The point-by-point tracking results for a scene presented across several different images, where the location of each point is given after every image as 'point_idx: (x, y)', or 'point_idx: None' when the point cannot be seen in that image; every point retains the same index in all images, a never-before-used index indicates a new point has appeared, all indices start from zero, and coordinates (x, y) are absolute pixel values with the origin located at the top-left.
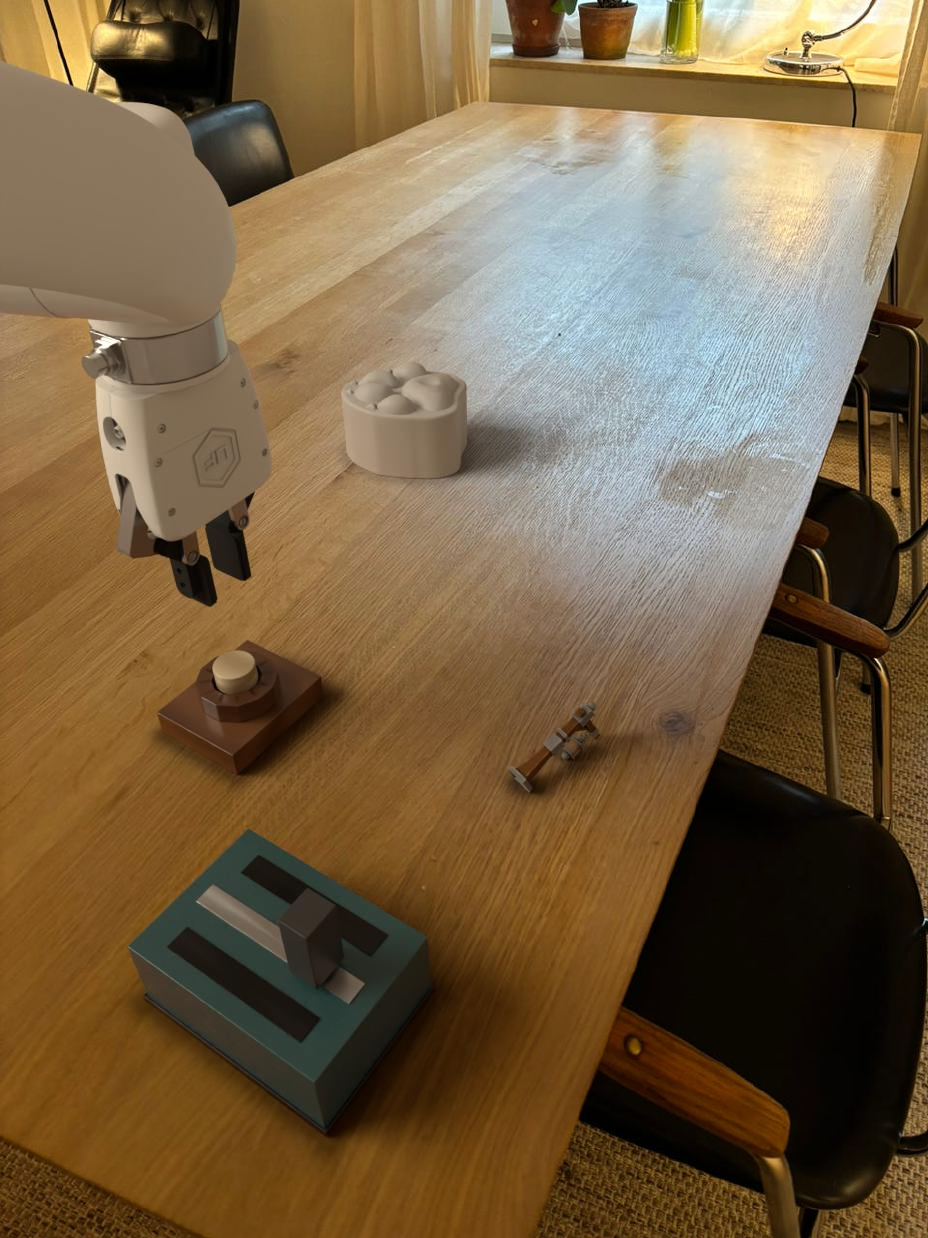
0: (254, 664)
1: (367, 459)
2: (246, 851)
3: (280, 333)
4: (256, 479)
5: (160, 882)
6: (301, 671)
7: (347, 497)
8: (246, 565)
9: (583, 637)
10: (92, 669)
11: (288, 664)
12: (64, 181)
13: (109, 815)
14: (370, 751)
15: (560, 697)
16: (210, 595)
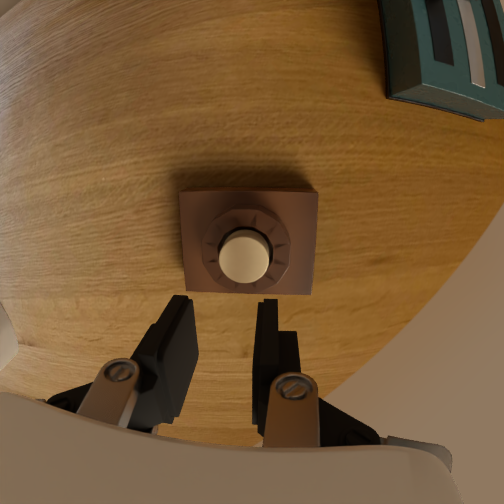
0: (229, 240)
1: (8, 335)
2: (438, 72)
3: None
4: (11, 422)
5: (425, 171)
6: (185, 213)
7: (33, 328)
8: (172, 309)
9: (31, 71)
10: None
11: (185, 232)
12: None
13: (396, 253)
14: (218, 101)
15: (86, 32)
16: (276, 309)
